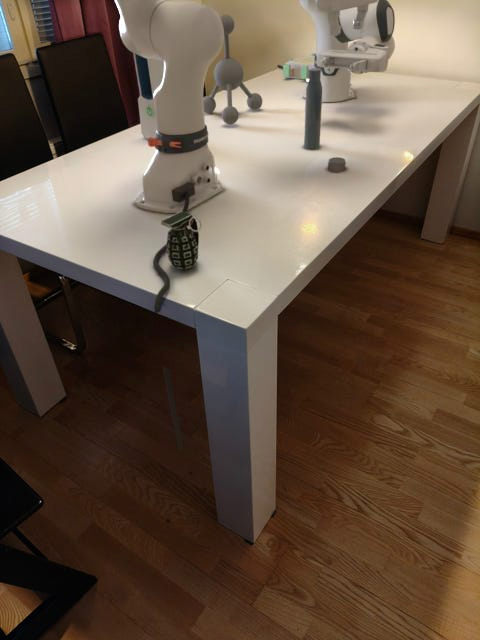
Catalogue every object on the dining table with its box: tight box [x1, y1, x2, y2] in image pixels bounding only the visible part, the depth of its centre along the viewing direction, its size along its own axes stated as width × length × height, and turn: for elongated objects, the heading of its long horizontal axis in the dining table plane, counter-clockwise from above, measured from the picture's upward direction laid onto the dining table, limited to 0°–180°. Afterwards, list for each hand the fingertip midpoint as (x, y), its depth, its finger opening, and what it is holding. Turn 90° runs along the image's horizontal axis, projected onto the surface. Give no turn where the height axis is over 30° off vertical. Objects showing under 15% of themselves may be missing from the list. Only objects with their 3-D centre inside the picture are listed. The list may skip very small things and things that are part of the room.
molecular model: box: [203, 13, 263, 125], centre depth 160 cm, size 24×22×30 cm
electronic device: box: [132, 52, 164, 140], centre depth 143 cm, size 12×8×30 cm, turn 47°
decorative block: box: [282, 52, 316, 80], centre depth 211 cm, size 26×6×20 cm
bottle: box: [303, 68, 323, 151], centre depth 134 cm, size 4×4×20 cm
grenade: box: [159, 211, 202, 271], centre depth 88 cm, size 7×6×10 cm
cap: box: [327, 156, 346, 173], centre depth 125 cm, size 4×4×2 cm
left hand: (347, 32), depth 107 cm, fingers open, 8 cm apart
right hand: (337, 65), depth 135 cm, fingers open, 8 cm apart
